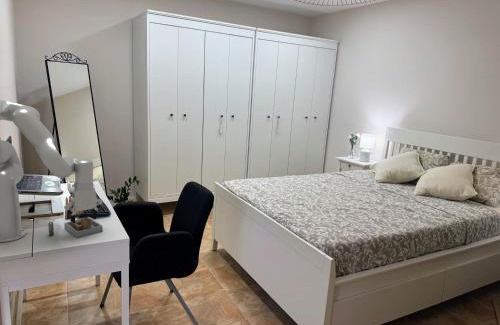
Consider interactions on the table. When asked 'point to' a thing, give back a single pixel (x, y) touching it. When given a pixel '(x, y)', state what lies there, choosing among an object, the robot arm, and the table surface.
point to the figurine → (70, 187)
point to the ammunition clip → (67, 215)
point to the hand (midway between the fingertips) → (83, 220)
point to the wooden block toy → (82, 224)
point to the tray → (78, 234)
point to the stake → (51, 228)
